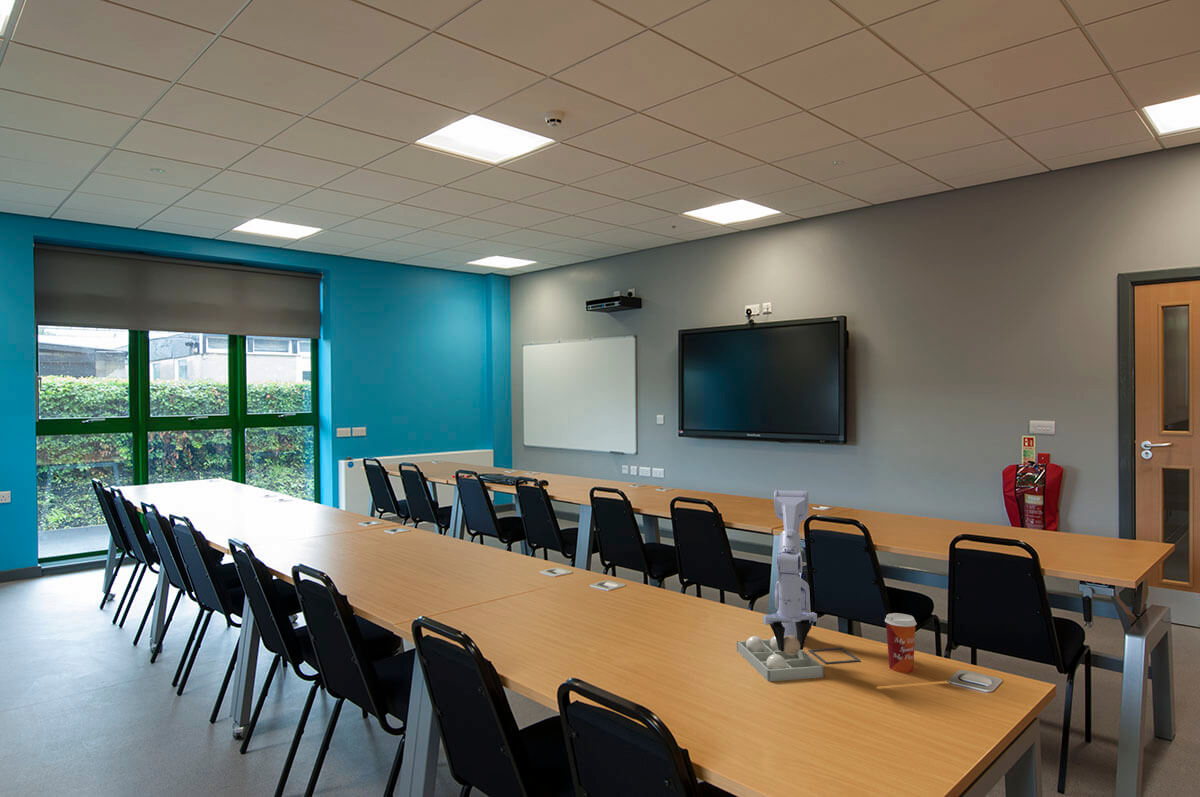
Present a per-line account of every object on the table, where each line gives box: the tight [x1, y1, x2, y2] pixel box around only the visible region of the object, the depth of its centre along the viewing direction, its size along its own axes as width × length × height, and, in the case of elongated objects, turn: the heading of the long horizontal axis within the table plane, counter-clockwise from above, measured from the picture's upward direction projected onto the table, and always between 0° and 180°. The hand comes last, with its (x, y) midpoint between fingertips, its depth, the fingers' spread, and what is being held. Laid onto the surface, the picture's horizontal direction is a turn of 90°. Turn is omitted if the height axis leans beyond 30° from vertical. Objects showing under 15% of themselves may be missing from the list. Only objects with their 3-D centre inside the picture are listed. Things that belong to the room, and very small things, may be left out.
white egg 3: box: [766, 654, 786, 670], centre depth 178 cm, size 5×5×5 cm
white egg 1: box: [745, 635, 764, 653], centre depth 192 cm, size 5×5×5 cm
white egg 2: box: [770, 634, 785, 651], centre depth 193 cm, size 5×5×5 cm
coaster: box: [808, 647, 862, 665], centre depth 190 cm, size 10×10×1 cm
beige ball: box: [784, 635, 800, 655], centre depth 186 cm, size 5×5×5 cm
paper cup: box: [884, 612, 918, 674], centre depth 181 cm, size 8×8×14 cm
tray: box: [736, 638, 825, 682], centre depth 185 cm, size 22×15×3 cm
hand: (790, 649), depth 186 cm, fingers closed on beige ball, 5 cm apart
